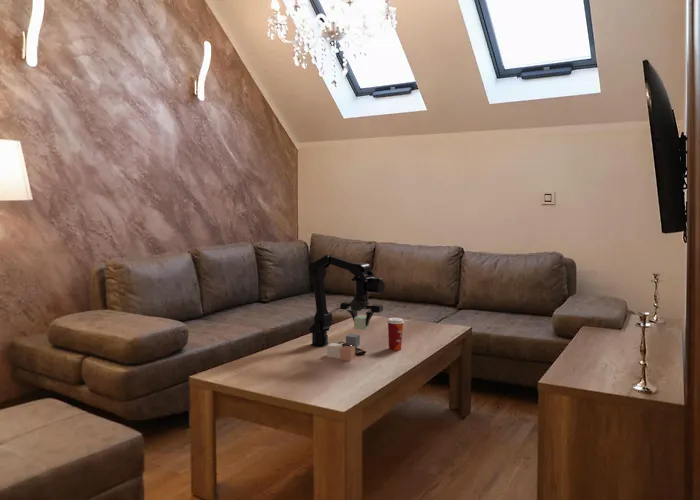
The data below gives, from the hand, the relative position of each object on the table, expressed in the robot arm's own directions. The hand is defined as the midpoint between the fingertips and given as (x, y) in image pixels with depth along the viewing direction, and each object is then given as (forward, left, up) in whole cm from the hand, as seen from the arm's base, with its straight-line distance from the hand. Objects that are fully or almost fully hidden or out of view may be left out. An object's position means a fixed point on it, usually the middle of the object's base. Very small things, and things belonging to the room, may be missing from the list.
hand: (361, 325), depth 254 cm
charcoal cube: (-8, +10, -13) cm, 18 cm away
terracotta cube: (-2, -11, -13) cm, 17 cm away
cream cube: (-9, -9, -13) cm, 18 cm away
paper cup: (+12, +13, -13) cm, 22 cm away
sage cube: (0, 0, -1) cm, 1 cm away
